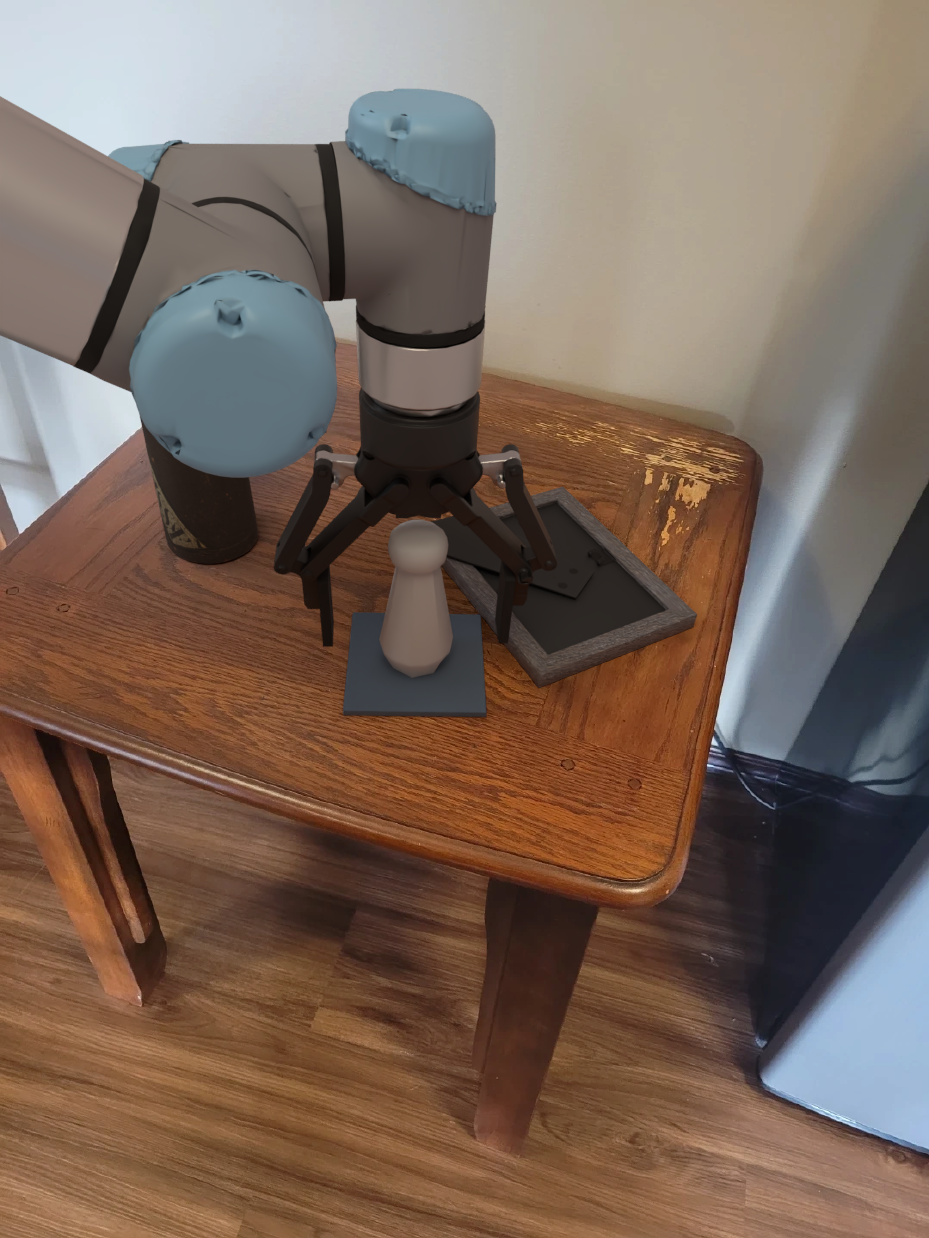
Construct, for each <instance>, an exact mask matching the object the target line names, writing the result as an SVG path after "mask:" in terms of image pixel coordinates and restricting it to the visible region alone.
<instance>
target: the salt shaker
mask: <svg viewBox="0 0 929 1238" xmlns="http://www.w3.org/2000/svg"><path fill="white" fill-rule="evenodd" d="M447 552H448V540H447V536H446V535H445V533H444V531H443V530H442V529H441V528H440V527H438V526H437V525H435V524H434V523H433V522H431V521H429V520H425V519H410V520H407V521H403V522H402V523H400V524H398V525H397V526H396V527H394V528H393V529H391V531H390V535H389V538H388V542H387V553H388V556H389V558H390V561H391V563H392V565H393V566H394V572H393V577H392V581H391V586H390V590H389V594H388V599H387V603H386V609H385V612H384V613H385V617H384V621H383V626H382V630H381V634H380V638H379V640H380V644H381V647H382V650H383V653H384V655H385V657H386V658H387V660H388V661H389V663H390V664H391V665H392V667H393V668H394V669H396V670H398V671H400V672H402V673H404V674H406V675H407V676H409V677H411V678H413V677H418V676H422V675H427V674H432V673H434V672H435V670H436V669H437V667H438V665H439V664H440V662H441V661H442V660H443V659H444V658H445V657H446V656H447V655H448V654H449V653H450V649H451V644H452V639H453V633H452V628H451V622H450V617H449V614H450V611H449V607H448V601H447V600H448V599H447V594H446V590H445V584H444V577H443V572H442V566H441V565H442V564H443V563H444V562H445V560H446V556H447Z"/></svg>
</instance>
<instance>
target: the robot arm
mask: <svg viewBox="0 0 929 1238" xmlns="http://www.w3.org/2000/svg"><path fill="white" fill-rule="evenodd" d="M347 118H348V119H347V123H348V124H347V129H345V131H344V140H338V141H337V140H335V141H330V142H329V143H190V142H187V141H183V140H182V139H173V140H168V141H166V142H164V143H158V144H157V143H156V144H145V145H135V146H134V145H133V146H122V147H117V148H116V149H114V150H112V152H110V153H109V154H108V155H106V154H104V153H102V152H101V151H99V150H97V149H96V148H94V147H92V146H90V145H88V144H87V143H85V142H83V141H81V140H79V139H78V138H76V137H75V136H72V135H71V134H69V133H67V132H65V131H63V130H61V129H60V128H58V127H57V126H54V125H52V124H51V123H49V122H47V121H46V120H44V119H42V118H40V117H39V116H36V115H35V114H33V113H31V112H29V111H27V110H26V109H24V108H22V107H21V106H19V105H17V104H15V103H13V102H11V101H9V100H8V99H6V98H4V97H3V96H0V336H1V337H3V338H5V339H8V340H9V341H13V342H15V343H18V344H19V345H21V346H24V347H27V348H29V349H30V350H31V349H32V350H34V351H36V352H39V353H41V354H43V355H46V356H48V357H50V358H53V359H56V360H58V361H59V362H60V361H61V362H62V363H64V364H67V365H69V366H72V367H73V368H75V369H78V370H80V371H83V372H85V373H87V374H89V375H92V376H94V377H95V378H97V379H99V380H101V381H103V382H105V383H108V384H111V385H113V386H115V387H118V388H119V389H123V390H125V391H127V392H130V393H131V395H132V398H133V400H134V402H135V405H136V409H137V411H138V414H140V415H139V418H140V417H141V419H142V421H143V423H144V425H145V426H146V428H147V429H148V430H149V432H150V433H151V434H152V435H153V436H154V437H155V439H156V440H157V441H158V442H159V443H160V444H161V445H162V446H163V447H164V448H165V449H166V450H168V451H169V452H170V453H172V455H173V457H175V458H176V459H178V460H179V461H181V462H182V463H184V464H186V465H188V466H190V467H192V468H194V469H197V470H200V471H203V472H205V473H209V474H213V475H217V476H223V477H235V478H245V477H249V478H254V477H255V478H256V477H260V476H264V475H269V474H271V473H275V472H278V471H281V470H283V469H285V468H288V467H289V466H291V465H293V464H295V463H296V462H297V461H299V460H301V459H302V458H303V457H305V456H306V455H308V453H309V452H311V450H312V449H313V448H314V447H315V446H316V445H317V444H318V442H319V440H320V439H321V438H322V437H323V436H324V435H325V434H327V430H328V427H329V425H330V424H331V421H332V418H333V415H334V412H335V409H336V405H337V400H338V377H337V363H336V362H337V358H336V352H337V350H336V349H337V347H338V344H337V340H336V336H335V331H334V327H333V325H332V322H331V319H330V316H329V314H328V313H327V311H326V308H325V304H324V302H329V303H330V302H342V301H343V300H355V303H356V304H355V335H356V336H355V337H356V358H357V359H356V362H357V363H356V364H357V380H358V385H359V386H360V390H359V392H358V409H359V411H358V412H359V435H360V447H359V449H358V451H357V452H356V454H355V455H354V454H346V453H344V454H343V453H335V452H334V450H333V448H332V446H330V445H329V444H326V443H322V444H319V445H317V446H316V447H315V449H314V458H313V467H312V469H313V470H312V475H311V477H310V479H309V480H308V483H307V484H306V486H305V488H304V489H303V492H302V495H301V496H300V498H299V500H298V502H297V504H296V506H295V507H294V510H293V512H292V514H291V516H290V517H289V519H288V521H287V523H286V525H285V527H284V529H283V531H282V533H281V535H280V537H279V539H278V540H277V543H276V546H275V553H274V561H273V570H274V572H275V573H276V574H278V575H281V576H282V575H287V574H290V573H292V574H295V575H296V576H298V577H300V580H301V586H302V596H303V604H304V606H305V608H306V609H307V610H319V617H320V628H321V629H320V630H321V639H322V640H321V642H322V647H323V648H328V647H329V648H330V647H334V633H335V631H334V630H335V617H334V616H335V615H334V602H333V589H332V577H331V565H332V564H333V562H335V561H336V560H337V559H338V558H339V557H340V556H341V555H342V554H343V553H344V552H345V551H346V550H347V549H348V548H349V547H350V546H351V545H352V544H353V543H354V542H355V541H356V540H357V539H358V538H360V537H361V535H362V534H363V533H365V532H366V531H367V530H368V529H369V528H370V527H371V528H374V527H375V526H376V525H378V523H380V521H381V520H383V519H384V518H385V517H386V515H388V514H391V515H393V516H395V519H411V518H415V517H422V518H426V519H427V518H428V519H442V515H445V514H447V513H450V514H451V516H454V517H455V518H456V519H457V520H458V521H459V522H460V523H461V524H462V525H463V526H468V527H469V528H470V529H471V530H472V531H473V532H474V533H475V534H476V535H477V536H478V537H479V538H480V539H481V540H482V541H483V542H484V543H485V544H486V545H487V546H488V547H489V548H490V549H491V550H492V551H493V552H494V553H495V554H496V555H497V556H498V557H499V558H500V559H501V567H500V577H499V586H498V596H497V605H496V615H495V623H496V629H497V635H496V636H497V643H498V644H503V643H508V640H509V632H510V624H511V615H512V607H513V606H520V605H524V604H525V602H526V601H527V594H528V587H529V584H530V583H531V582H532V581H533V572H534V571H536V570H538V569H543V570H545V571H551V570H554V569H555V568H556V567H557V559H556V555H555V551H554V547H553V543H552V540H551V538H550V536H549V534H548V532H547V529H546V527H545V525H544V523H543V521H542V519H541V517H540V515H539V513H538V510H537V508H536V506H535V504H534V502H533V500H532V498H531V496H532V495H531V494H530V491H529V489H528V487H527V485H526V483H525V481H524V467H523V464H522V459H521V454H520V450H519V447H518V446H517V445H515V444H512V443H508V444H506V445H504V446H503V447H502V448H501V451H500V452H499V453H488V454H480V452H479V451H478V436H479V434H478V433H479V423H480V422H479V421H480V420H479V419H480V407H481V395H480V392H479V390H481V385H482V383H483V365H484V364H483V363H484V349H485V334H486V333H485V332H486V308H487V307H486V303H487V294H488V293H487V291H488V281H489V280H488V279H489V272H490V271H489V269H490V259H491V249H492V247H491V246H492V238H493V229H494V228H493V227H494V217H495V214H496V213H497V202H496V128H495V124H494V121H493V119H492V118H491V116H490V114H489V113H488V112H487V110H485V109H484V107H482V105H481V104H479V103H478V102H476V101H475V100H473V99H471V98H469V97H466V96H462V95H460V94H457V93H453V92H448V91H442V90H436V89H426V88H425V89H424V88H393V90H387V91H385V90H376V91H371V92H368V93H365V94H362V95H361V96H359V97H358V98H357V99H355V100H354V101H353V102H352V104H351V106H350V108H349V111H348V117H347ZM352 476H353V477H355V479H356V481H357V482H358V483H359V484H360V485H361V487H360V488H359V490H358V491H357V494H356V495H355V497H353V498H352V500H351V501H350V502H349V503H348V504H347V505H346V506H345V507H344V508H343V509H342V510H341V511H340V512H339V513H338V514H337V515H336V516H335V517H334V518H333V519H332V520H331V521H330V522H329V523H328V524H327V525H326V526H325V527H324V528H323V529H322V530H321V531H320V532H319V533H318V534H317V535H316V536H315V537H314V538H313V539H312V540H311V541H310V543H308V544H307V541H308V539H309V537H310V536H311V534H312V533H313V530H314V528H315V527H316V525H317V523H318V521H319V520H320V517H321V515H322V514H323V512H324V510H325V508H326V506H327V505H328V502H329V499H330V497H331V492H332V490H334V491H335V490H339V488H340V487H342V485H343V484H344V482H345V480H346V479H347V478H348V477H352ZM483 476H487V477H489V478H490V479H491V481H492V483H493V485H495V486H496V487H497V488H498V489H500V490H504V489H505V494H506V498H507V501H508V502H509V503H510V505H511V507H512V509H513V511H514V513H515V515H516V517H517V519H518V521H519V523H520V525H521V527H522V529H523V531H524V533H525V535H526V537H527V539H528V541H529V543H530V545H531V546H529V547H526V546H525V545H524V544H523V543H522V542H521V541H520V540H519V539H518V538H517V537H516V536H515V534H514V533H513V532H512V531H511V530H510V529H509V528H508V527H507V526H506V525H505V524H504V523H503V522H502V521H501V520H500V519H499V518H498V517H497V516H496V515H495V513H494V512H493V511H492V510H491V509H490V507H489V506H488V505H487V503H485V502H484V500H483V499H481V497H480V496H479V495H478V494H477V492H476V490H475V488H474V487H475V486H476V485H477V484H478V483H479V482H480V480H481V479H482V477H483ZM306 544H307V545H306Z"/></svg>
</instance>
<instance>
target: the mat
mask: <svg viewBox="0 0 929 1238" xmlns="http://www.w3.org/2000/svg"><path fill="white" fill-rule="evenodd" d="M384 617H385V612H368V611H367V612H366V611H365V612H364V611H363V612H361V611H359V612H358V611H353V612H352V615H351V625H350V636H349V646H348V654H347V665H346V675H345V686H344V696H343V706H342V716H359V717H360V716H361V717H365V716H366V717H368V716H370V717H449V718H450V717H452V718H453V717H454V718H455V717H456V718H457V717H458V718H460V717H461V718H486V717H487V699H486V682H485V680H486V679H485V665H484V664H485V663H484V648H483V647H484V646H483V629H482V627H483V626H482V616H481V615H480V614H479V613H478V614H477V613H475V614H474V613H471V614H470V613H468V614H467V613H449V617H450V622H451V628H452V633H453V639H452V644H451V649H450V653H449V654H448V655H447V656H446V657H445V658H444V659H443V660H442V661H441V662H440V664H439V665H438V667H437V669H436V670H435V672H434V673H432V674H427V675H422V676H418V677H413V678H411V677H409V676H407V675H406V674H404V673H402V672H400V671H398V670H396V669H394V668H393V667H392V665H391V664H390V663H389V661H388V660H387V658H386V657H385V655H384V653H383V650H382V647H381V644H380V640H379V638H380V634H381V630H382V626H383V621H384Z"/></svg>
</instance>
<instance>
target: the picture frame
mask: <svg viewBox="0 0 929 1238" xmlns="http://www.w3.org/2000/svg"><path fill="white" fill-rule="evenodd" d="M530 496H531V498H532V500H533V502H534V504H535V506H536V508H537V510H538V513H539V515H540V517H541V519H542V521H543V523H544V525H545V527H546V529H547V532H548V534H549V536H550V538H551V540H552V543H553V547H554V551H555V555H556V559H557V567H556V568H555V569H554V570H551V571H545V570H543V569H538V570H536V571H534V572H533V581H532V582H531V583H530V584H529V587H528V594H527V601H526V602H525V604H524V605H520V606H513V607H512V615H511V624H510V632H509V640H508V643H502V644H503V645H504V647H506V649H507V650H508V651H509V653H510V654H511V656H512V657H513V658H514V659H515V660H516V661H517V663H518V664H519V665H520V667H521V668H522V670H524V672H525V673H526V674H527V675H528V677H529V678H530V679H531V680H532V682H533V683H534V684H535V685H536V687H537V688H538V689H540V688H543V687H546V686H547V685H551V684H553V683H555V682H557V681H560V680H563V679H565V678H568V677H570V676H573V675H575V674H579V673H581V672H583V671H586V670H588V669H591V668H594V667H597V666H599V665H601V664H604V663H606V662H609V661H612V660H614V659H616V658H619V657H621V656H624V655H627V654H630V653H631V652H634V651H636V650H639V649H643V648H645V647H647V646H650V645H652V644H654V643H657V642H660V641H662V640H665V639H667V638H671V637H672V636H675V635H678V634H680V633H683V632H686V631H688V630H690V629H693V628H694V627H695V624H696V619H697V617H698V613H696V611H694V610H693V609H692V607H690V606H689V604H688V603H686V602H685V601H684V600H683V599H682V598H681V597H680V596H679V595H678V594H677V593H675V591H673V589H672V588H671V587H670V586H669V585H667V584H666V583H665V582H664V581H663V580H662V579H661V578H660V577H659V576H658V575H656V573H654V571H652V570H651V569H650V568H649V567H648V566H647V565H646V564H645V562H643V561H642V560H641V559H640V558H639V557H638V556H637V555H636V554H635V553H634V552H633V551H631V550H630V549H629V548H628V547H627V546H626V545H625V544H624V543H623V542H622V541H621V540H620V539H619V538H618V537H616V536H615V534H613V532H611V530H609V529H608V528H607V527H606V526H605V525H604V524H603V523H602V522H601V521H600V520H599V519H598V518H597V517H596V516H595V515H594V514H592V513H591V512H590V511H589V510H588V508H586V507H585V506H584V505H583V504H582V503H581V502H580V501H579V500H578V499H577V498H576V497H575V496H573V494H572V493H570V492H569V490H567V489H566V488H565V487H564V486H560V487H557V488H553V489H549V490H546V491H542V492H538V493H536V494H532V495H530ZM489 508H490V509H491V510H492V511H493V512H494V513H495V515H496V516H497V517H498V518H499V519H500V520H501V521H502V522H503V523H504V524H505V525H506V526H507V527H508V528H509V529H510V530H511V531H512V532H513V533H514V534H515V536H516V537H517V538H518V539H519V540H520V541H521V542H522V543H523V544H524V545H525V546H526V547H529V546H531V545H530V543H529V541H528V539H527V537H526V535H525V533H524V531H523V529H522V527H521V525H520V523H519V521H518V519H517V517H516V515H515V513H514V511H513V509H512V507H511V505H510V503H509V501H508V502H505V503H501V504H497V505H494V506H491V507H489ZM430 522H433V523H434V524H435V525H437V526H438V527H440V528H441V529H442V530H443V531H444V533H445V535H446V536H447V540H448V552H447V556H446V560H445V562H444V563H443V564H442V565H441V568H443V570H444V571H445V573H446V574H447V575H448V576H449V578H451V580H452V581H453V582H454V584H455V585H456V586H457V588H458V589H460V591H461V593H462V594H463V595H464V596H465V598H466V599H467V600H468V601H469V602H470V604H471V605H472V606H473V608H475V610H476V611H477V612H478V614H480V615H481V618H483V620H484V621H485V622H486V624H487V626H488V627H489V628H490V629H491V630H492V631H493V633H494V634H495V635H496V636H497V629H496V623H495V615H496V605H497V596H498V586H499V577H500V567H501V559H500V558H499V557H498V556H497V555H496V554H495V553H494V552H493V551H492V550H491V549H490V548H489V547H488V546H487V545H486V544H485V543H484V542H483V541H482V540H481V539H480V538H479V537H478V536H477V535H476V534H475V533H474V532H473V531H472V530H471V529H470V528H469V527H468V526H463V525H462V524H461V523H460V522H459V521H458V520H457V519H456V518H455V517H454V516H453V515H450V516H446V517H442V518H438V519H435V520H431V521H430Z"/></svg>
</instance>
